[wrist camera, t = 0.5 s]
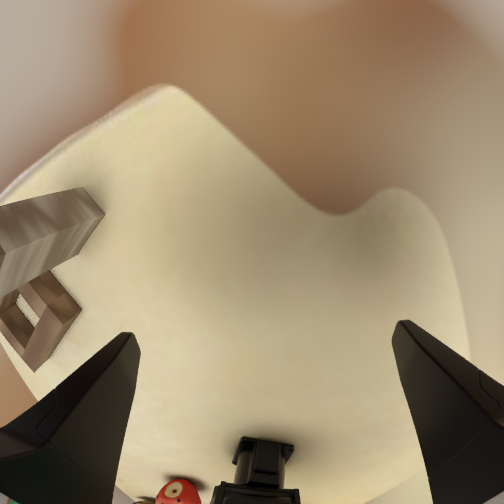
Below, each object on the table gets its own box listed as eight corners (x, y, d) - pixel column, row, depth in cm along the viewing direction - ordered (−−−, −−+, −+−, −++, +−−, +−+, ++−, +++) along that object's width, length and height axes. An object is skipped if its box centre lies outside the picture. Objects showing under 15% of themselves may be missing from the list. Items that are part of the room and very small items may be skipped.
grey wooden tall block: (105, 214, 23) (-4, 257, 11) (77, 255, 25) (-18, 310, 13) (82, 186, 23) (-29, 213, 11) (56, 228, 24) (-41, 270, 12)
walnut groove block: (82, 309, 27) (63, 325, 23) (48, 358, 30) (34, 372, 27) (25, 237, 25) (3, 246, 22) (1, 299, 28) (-15, 309, 25)
